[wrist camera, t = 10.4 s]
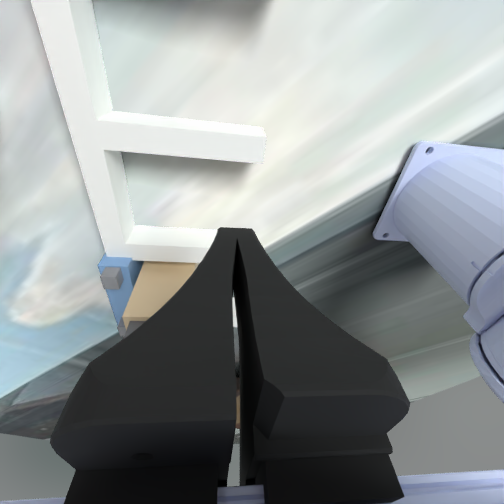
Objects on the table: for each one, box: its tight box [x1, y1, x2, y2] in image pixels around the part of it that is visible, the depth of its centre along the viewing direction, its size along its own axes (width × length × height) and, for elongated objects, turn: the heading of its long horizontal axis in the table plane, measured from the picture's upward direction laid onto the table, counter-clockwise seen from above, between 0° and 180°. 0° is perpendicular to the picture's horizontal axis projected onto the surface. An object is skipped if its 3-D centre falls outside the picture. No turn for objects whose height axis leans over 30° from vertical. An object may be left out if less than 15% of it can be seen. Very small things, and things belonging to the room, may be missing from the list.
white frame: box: [30, 0, 267, 336], centre depth 17 cm, size 11×26×4 cm, turn 174°
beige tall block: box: [122, 261, 198, 339], centre depth 20 cm, size 4×4×9 cm
